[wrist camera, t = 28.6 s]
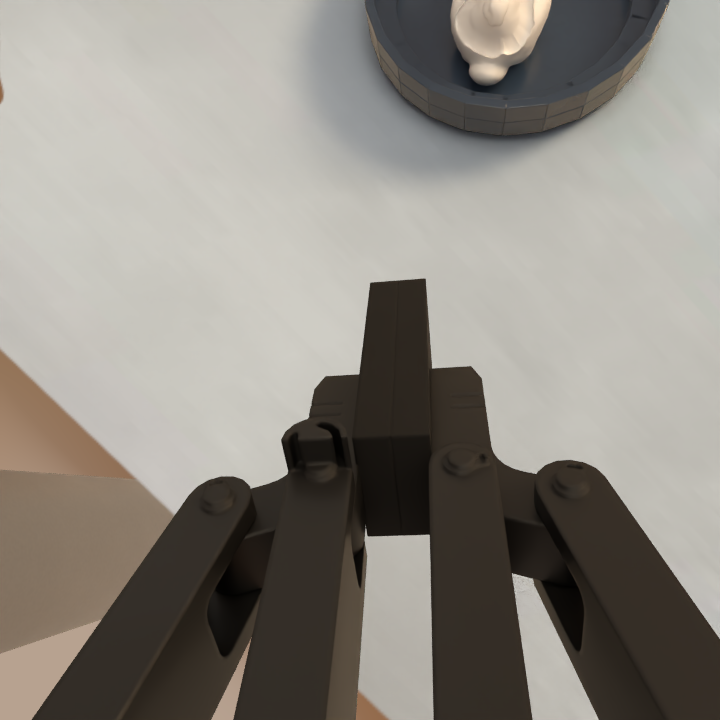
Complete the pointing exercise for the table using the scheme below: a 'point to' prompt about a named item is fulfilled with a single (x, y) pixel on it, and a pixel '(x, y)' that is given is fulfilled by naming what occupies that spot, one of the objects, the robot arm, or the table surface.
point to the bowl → (524, 80)
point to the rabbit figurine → (496, 34)
